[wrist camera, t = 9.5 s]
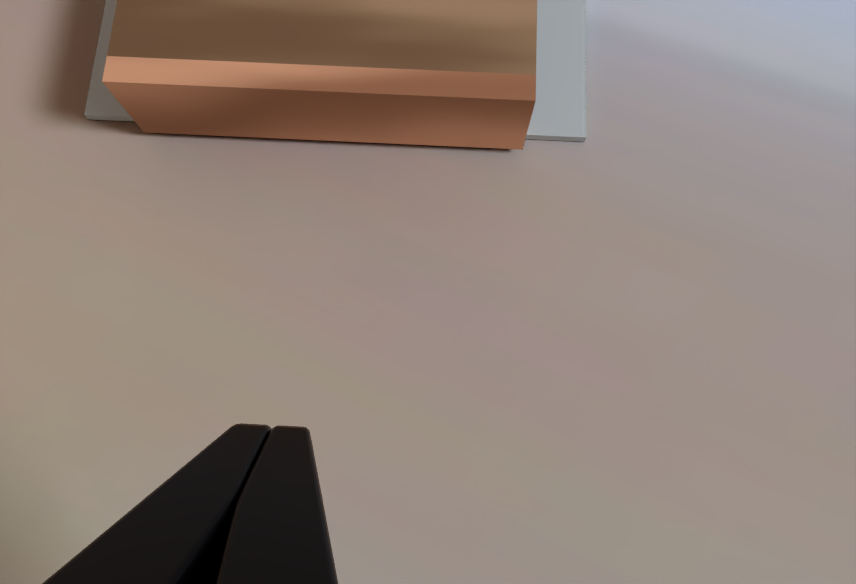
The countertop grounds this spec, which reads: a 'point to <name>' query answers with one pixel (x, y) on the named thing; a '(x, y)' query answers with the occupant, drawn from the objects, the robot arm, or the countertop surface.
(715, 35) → the countertop surface
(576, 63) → the mat
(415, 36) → the walnut slab
